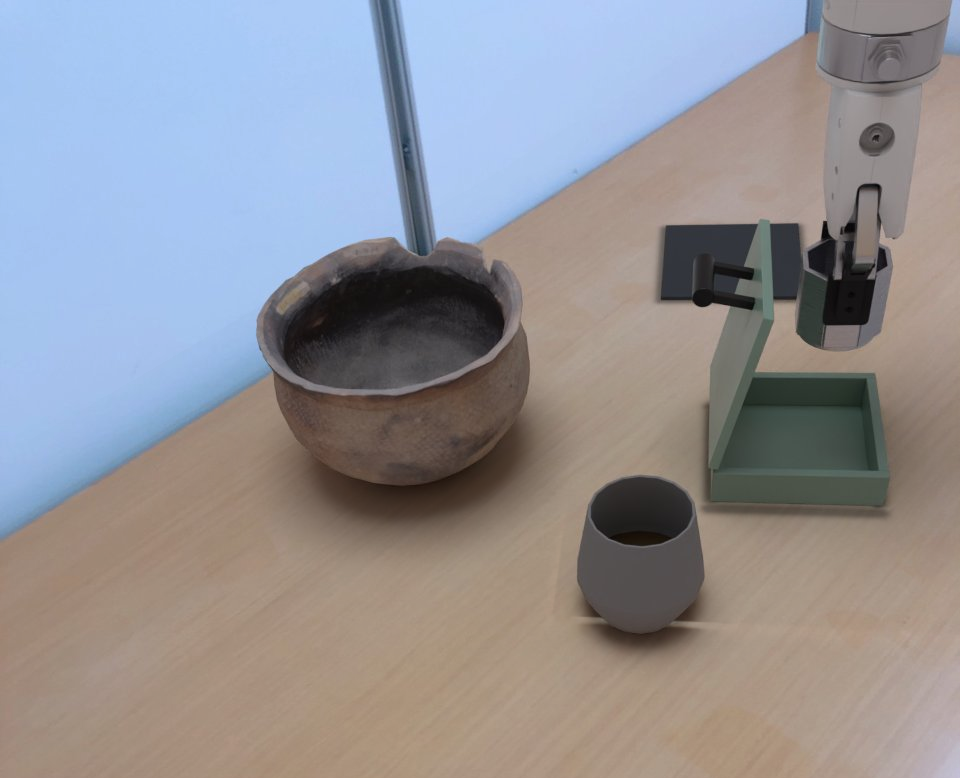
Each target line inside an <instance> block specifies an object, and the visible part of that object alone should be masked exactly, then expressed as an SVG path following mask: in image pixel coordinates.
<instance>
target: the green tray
mask: <svg viewBox="0 0 960 778" xmlns="http://www.w3.org/2000/svg"><path fill="white" fill-rule="evenodd" d="M890 478H891V473H890V467H889V460H888V454H887V446H886V438H885V432H884V424H883V416H882V411H881V403H880V396H879V387H878V381H877V375H876V372H807V371H806V372H805V371H804V372H802V371H801V372H798V371H797V372H795V371H794V372H793V371H791V372H789V371H788V372H787V371H786V372H785V371H784V372H782V371H781V372H779V371H776V372H775V371H755V373H754V376H753V378H752V381H751V383H750V386H749V389H748V391H747V394H746V397H745V399H744V402H743V405H742V407H741V410H740V413H739V415H738V418H737V421H736V423H735V426H734V428H733V431H732V434H731V436H730V439H729V442H728V444H727V447H726V450H725V452H724V455H723V458H722V460H721V463H720V466H719V468H718V470H716V469H711V468H710V498H709V499H710V502H712V503H739V504H740V503H741V504H773V505H775V504H777V505H779V504H780V505H813V506H814V505H815V506H817V505H818V506H856V507H857V506H858V507H884V505H885V501H886V496H887V492H888V488H889V483H890V480H891V479H890Z"/></svg>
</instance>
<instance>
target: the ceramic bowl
mask: <svg viewBox="0 0 960 778" xmlns="http://www.w3.org/2000/svg"><path fill="white" fill-rule="evenodd" d="M522 312H523V292H522V285H521V284H520V281H519V279H518V278H517V276H516V274H515V272H514V270H513V269H512V268H511V267H510V265H509V263H507V262H505V261H504V260H500V259H493V260H492V263H491V265H490V268H489V267H488V265H487V262H486V257H485V252H484V248H483V247H482V246H480V245H479V244H476V243H472V242H465V241H460V240H459V239H456V238H452V237H449V236H446V237H444V238H442V239H440V240H437V241H436V244H435V247H434V249H433V251H431V252H430V253H429V254H427V255H419V254H417V253H414V252H413V251H411V250H409V249H408V248H407V247H405V245H403V244H402V243H401V242H400V241H399V240H398V239H397V238H396V237H393V236H386V237H379V238H369V239H363V240H360V241H357V242H353V243H351V244H347V245H346V246H342V247H340V248H339V249H336V250H334V251H332V252H330V253H328V254H326V255H324V256H322V257H321V258H319V259H317V260H316V261H314V262H313V263H311V264H308V265H306V266H304V267H302V269H300V270H299V271H298V272H297V273H296V274H295V275H294V276H291V277H289V278H287V279H285V280H284V281H283V282H282V283H281V284H280V286H278V287H277V289H275V290H274V291H273V292H272V293H271V294H270V295H269V297H268V298H267V300H266V301H265V302H264V303H263V305H262V307H261V309H260V311H259V313H258V315H257V318H256V330H255V337H256V341H257V344H258V348H259V351H260V352H261V355H262V358H263V359H264V361H265V362H266V364H267V365H268V367H269V368H270V370H271V371H272V375H273V386H274V391H275V396H276V401H277V404H278V408H279V410H280V412H281V415H282V416H283V419H284V420H285V421H286V424H287V426H288V427H289V430H290V431H291V433H292V435H293V436H294V437H295V439H296V440H297V442H299V443H300V444H301V446H303V447H304V448H305V449H306V450H307V451H308V452H309V453H310V454H311V455H312V456H313V457H315V458H316V459H318V460H319V461H320V462H321V463H323V464H324V465H326V466H327V467H329V468H330V469H332V470H334V471H336V472H338V473H341V474H343V475H345V476H347V477H350V478H353V479H358V480H362V481H366V482H369V483H372V484H380V485H386V486H387V485H388V486H415V485H423V484H424V485H425V484H428V483H429V484H430V483H434V482H436V481H439V480H442V479H444V478H447V477H449V476H452V475H454V474H457V473H459V472H461V471H463V470H464V469H467V468H468V467H470V466H471V465H473V464H475V463H477V462H478V461H479V460H481V459H483V458H484V457H485V456H486V455H488V453H489V452H491V451H492V450H493V449H494V447H495V446H496V445H497V444H498V443H499V441H500V440H501V439H502V438H503V437H504V435H505V434H506V433H507V432H508V431H509V429H510V428H511V427H512V425H513V424H514V422H515V421H516V419H517V418H518V415H519V414H520V412H521V410H522V408H523V406H524V403H525V400H526V398H527V394H528V390H529V385H530V375H531V361H530V353H529V345H528V336H527V332H526V330H525V329H524V325H523V324H522V315H523V313H522Z"/></svg>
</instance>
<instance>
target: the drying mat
mask: <svg viewBox="0 0 960 778" xmlns="http://www.w3.org/2000/svg"><path fill="white" fill-rule="evenodd" d="M799 225H800V224H799V223H798V222H795V223H794V222H792V223H789V222H788V223H786V222H785V223H770V237H771V258H772V280H773V301H774V300H776V301H777V300H778V301H779V300H781V301H783V300H797V292H798V283H799V275H800V266H801V258H802V251H801V239H800V229H799V228H800V226H799ZM757 226H758V223H726V224H725V223H723V224H720V223H719V224H718V223H717V224H666V225H665V233H664V234H665V235H664V246H663V247H664V249H663V264H662V275H661V276H662V277H661V292H660V300H661V301H693V300H692V290H693V264H694V259H695V258H696V256H698V255H699V254H701V253H708V254H711V255H712V256H713V257H714V260H715V261H717V262H723V263H728V264H733V265H739V266H744V264H745V262H746V259H747V256H748V253H749V250H750V247H751V244H752V241H753V238H754V235H755V232H756V229H757ZM739 279H740V278H735V277H729V276H724V275H718V274H715V282H714V290H717V291H722V292H727V293H733V294H735V291H736V288H737V285H738V282H739Z"/></svg>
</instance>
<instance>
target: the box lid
mask: <svg viewBox="0 0 960 778" xmlns="http://www.w3.org/2000/svg"><path fill="white" fill-rule="evenodd" d="M757 224H758V226H757V229H756V232H755V235H754V238H753V241H752V244H751V247H750V250H749V253H748V256H747V259H746V262H745V264H744V266H739V265H733V264H728V263H723V262H717V261H715V260H714V257H713V256H712V255H711V254H708V253H701V254H699V255H698V256H696V258H695V259H694V264H693V290H692V300H691V301H692V303H693V304H694V306H696V307H699V308H707V307H709V306H711V305H712V304H716V305H721V306H727V307H729V309H728V312H727V315H726V318H725V321H724V324H723V327H722V329H721V332H720V336H719V339H718V342H717V345H716V347H715V350H714V352H713V356H712V359H711V363H710V366H709V405H708V406H709V413H708V414H709V415H708V461H707V462H708V465H707V466H708V469H710V470H711V469H716V470H718V468H719V466H720V463H721V460H722V458H723V455H724V452H725V450H726V447H727V444H728V442H729V439H730V436H731V434H732V431H733V428H734V426H735V423H736V421H737V418H738V415H739V413H740V410H741V407H742V405H743V402H744V399H745V397H746V394H747V391H748V389H749V386H750V383H751V381H752V378H753V376H754V373H755V372H756V370H757V367H758V365H759V362H760V359H761V357H762V354H763V351H764V349H765V346H766V343H767V341H768V338H769V335H770V333H771V331H772V327H773V326H774V322H775V307H774V304H775V303H774V300H773V280H772V258H771V237H770V224H771V221H770V219H765V218H760V219H758V223H757ZM715 274H718V275H724V276H729V277H735V278H740V279H739V282H738V285H737V288H736V291H735V294H733V293H727V292H722V291H717V290H714V282H715Z"/></svg>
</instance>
